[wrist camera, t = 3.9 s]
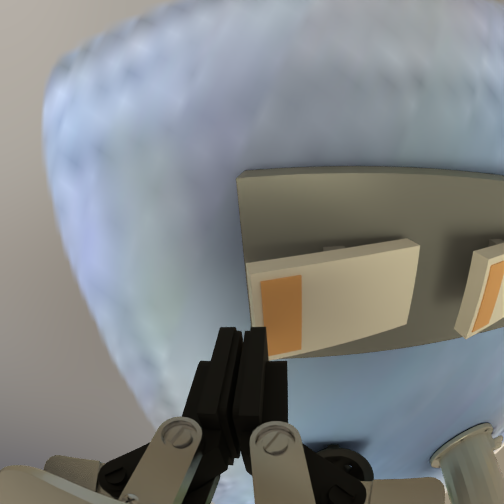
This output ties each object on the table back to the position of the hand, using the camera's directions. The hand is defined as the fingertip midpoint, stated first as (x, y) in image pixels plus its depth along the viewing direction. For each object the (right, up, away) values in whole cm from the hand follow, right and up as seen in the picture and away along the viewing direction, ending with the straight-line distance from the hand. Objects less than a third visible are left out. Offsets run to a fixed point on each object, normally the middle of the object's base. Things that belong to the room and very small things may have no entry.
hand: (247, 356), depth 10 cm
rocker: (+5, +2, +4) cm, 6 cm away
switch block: (+11, +4, +9) cm, 15 cm away
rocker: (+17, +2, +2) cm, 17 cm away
